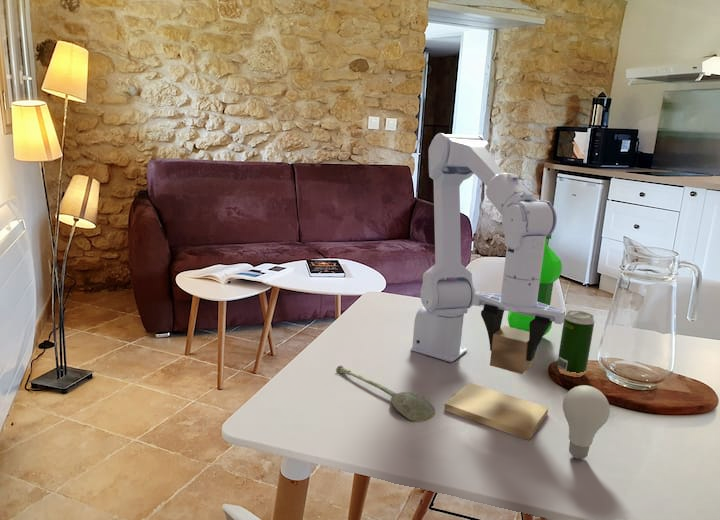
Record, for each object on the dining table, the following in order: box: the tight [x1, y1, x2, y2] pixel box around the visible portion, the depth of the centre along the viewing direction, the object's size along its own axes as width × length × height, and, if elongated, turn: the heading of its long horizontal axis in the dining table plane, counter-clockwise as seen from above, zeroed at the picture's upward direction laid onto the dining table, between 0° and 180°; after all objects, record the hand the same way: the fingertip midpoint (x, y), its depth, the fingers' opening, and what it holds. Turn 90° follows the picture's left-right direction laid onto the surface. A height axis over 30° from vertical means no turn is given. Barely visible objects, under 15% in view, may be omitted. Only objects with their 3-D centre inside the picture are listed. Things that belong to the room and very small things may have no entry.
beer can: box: [556, 309, 595, 373], centre depth 105 cm, size 5×5×12 cm
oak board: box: [443, 382, 549, 441], centre depth 90 cm, size 14×10×1 cm
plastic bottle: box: [507, 234, 563, 337], centre depth 122 cm, size 10×10×25 cm
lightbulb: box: [562, 384, 611, 460], centre depth 77 cm, size 6×6×11 cm
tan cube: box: [489, 325, 534, 375], centre depth 91 cm, size 6×6×6 cm
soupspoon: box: [335, 365, 436, 423], centre depth 94 cm, size 22×3×7 cm
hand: (511, 354), depth 91 cm, fingers closed on tan cube, 5 cm apart
